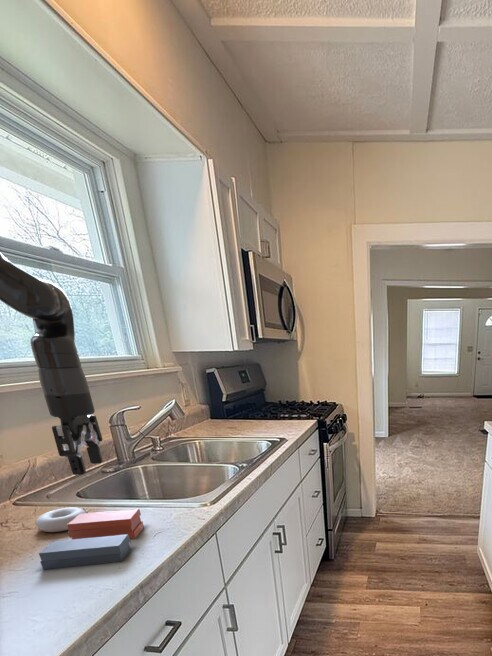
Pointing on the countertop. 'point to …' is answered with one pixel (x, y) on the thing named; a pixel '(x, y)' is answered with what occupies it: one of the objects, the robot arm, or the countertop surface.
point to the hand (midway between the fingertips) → (88, 468)
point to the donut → (58, 519)
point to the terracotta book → (104, 519)
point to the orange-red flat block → (109, 531)
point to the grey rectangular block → (85, 551)
